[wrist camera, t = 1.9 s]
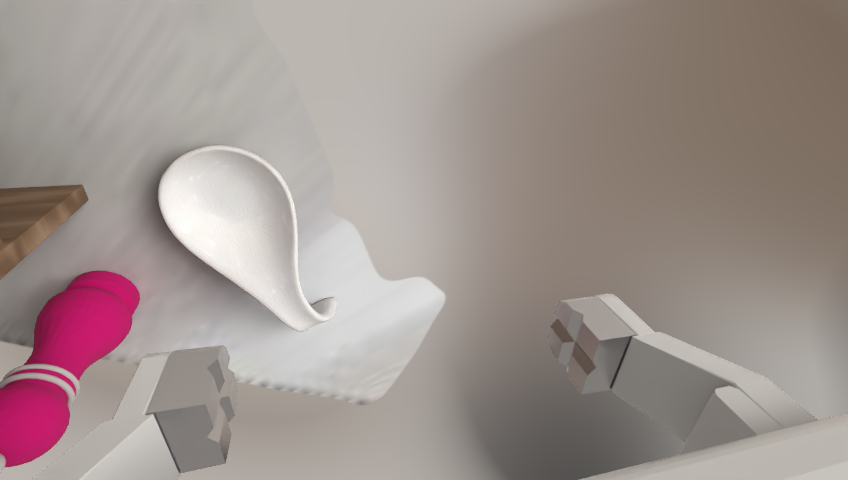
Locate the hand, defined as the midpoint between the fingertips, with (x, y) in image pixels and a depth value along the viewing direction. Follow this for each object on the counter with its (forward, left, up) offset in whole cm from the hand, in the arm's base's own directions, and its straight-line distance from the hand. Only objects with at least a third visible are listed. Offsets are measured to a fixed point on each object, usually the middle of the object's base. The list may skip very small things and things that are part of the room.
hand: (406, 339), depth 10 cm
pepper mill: (+21, -26, -34) cm, 48 cm away
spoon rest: (+16, -8, -35) cm, 39 cm away
